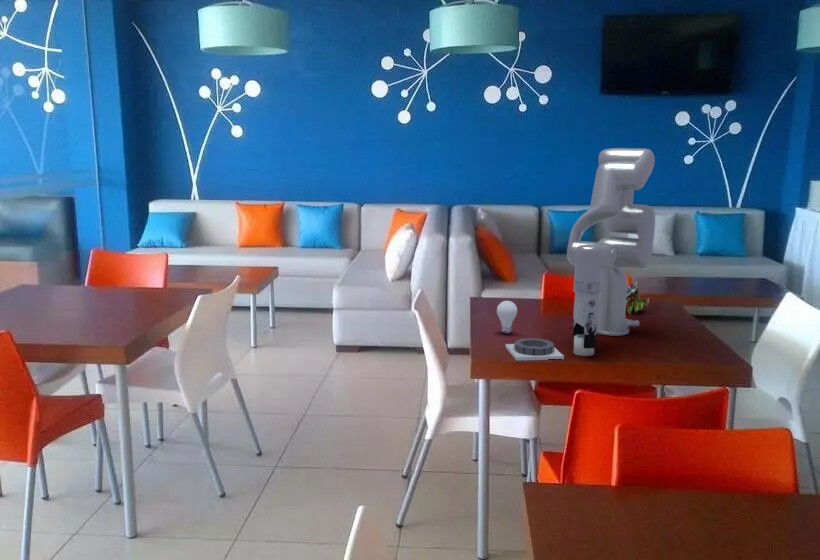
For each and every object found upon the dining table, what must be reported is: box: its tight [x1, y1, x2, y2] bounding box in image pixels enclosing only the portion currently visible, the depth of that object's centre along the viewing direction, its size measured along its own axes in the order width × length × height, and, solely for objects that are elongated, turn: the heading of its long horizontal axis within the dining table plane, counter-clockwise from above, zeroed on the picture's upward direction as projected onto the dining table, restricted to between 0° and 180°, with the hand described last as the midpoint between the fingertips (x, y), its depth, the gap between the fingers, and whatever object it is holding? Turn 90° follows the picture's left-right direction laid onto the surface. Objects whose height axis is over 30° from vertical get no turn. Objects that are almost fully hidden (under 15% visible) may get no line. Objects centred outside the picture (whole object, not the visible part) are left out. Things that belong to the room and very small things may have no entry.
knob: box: [572, 334, 595, 357], centre depth 219 cm, size 6×6×6 cm
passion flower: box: [626, 281, 650, 315], centre depth 274 cm, size 13×12×14 cm
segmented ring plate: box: [505, 337, 565, 362], centre depth 219 cm, size 14×14×3 cm
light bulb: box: [496, 300, 518, 335], centre depth 240 cm, size 7×7×11 cm
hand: (583, 343), depth 218 cm, fingers open, 9 cm apart
